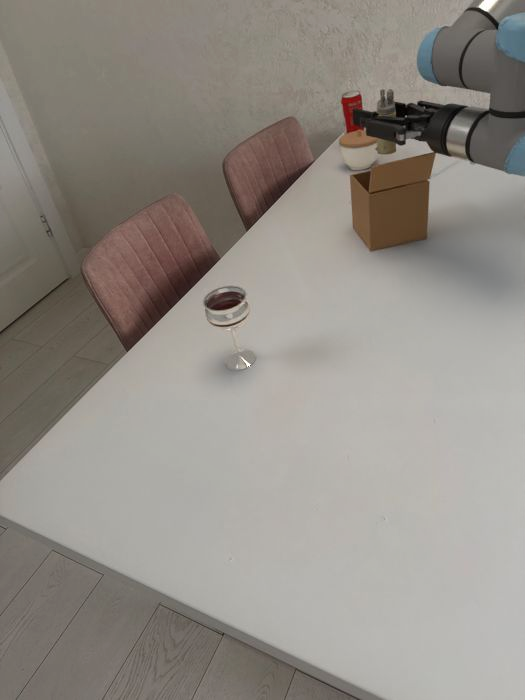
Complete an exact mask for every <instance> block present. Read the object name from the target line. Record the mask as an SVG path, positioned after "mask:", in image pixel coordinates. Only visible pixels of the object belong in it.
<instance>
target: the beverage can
mask: <svg viewBox="0 0 525 700" xmlns="http://www.w3.org/2000/svg"><path fill="white" fill-rule="evenodd" d="M340 103H341V114H342V115H341V116H342V124H343V133H344V134H343V135H345V134H347V133H350V132H354V131H357V130H365V128H364V127H361V126H357V125H353V109H355V108H356V109H361V110H364V108H363V97H362V94H361V92H360V90H349V91H346V92H344V93H342V95H341V100H340Z"/></svg>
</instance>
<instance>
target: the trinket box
mask: <svg viewBox="0 0 525 700" xmlns="http://www.w3.org/2000/svg"><path fill="white" fill-rule="evenodd" d="M338 144H339V152H340V156H341V159H342V161H343V162H344V164H345V165H346V166H348V168H349V170H353V171H363V170H367V169H369V168H371V166H373V164H374V163H375V162H376V161H377V158H378V156H379V154H378V153H377V150H375V148H377V138H375V137H370V136H367V135H366V129H364V130H357V131H354V132H350V133H347V134H345V135H344V134H343V135H341V136H340V137H339V139H338Z"/></svg>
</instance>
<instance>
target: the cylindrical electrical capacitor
mask: <svg viewBox="0 0 525 700" xmlns="http://www.w3.org/2000/svg"><path fill="white" fill-rule="evenodd" d="M385 90H386V89H384V88H383V89H380V90H379V96H380V99H379V100H377V102H376V111H377V113H378V116H386V117H396V109H395V102H396V101H395V99H394V98H395V97H394V94H395V93H394V90H393V89H392V88H389V89H388V90H386V91H385ZM385 93H386V96H385ZM375 150H377V153H378V155H381V156H388V155H392V154H394V153H396V152H397V144H396V143H395V142H391V141H387V140H383V139H379V138H377V148H375Z"/></svg>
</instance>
